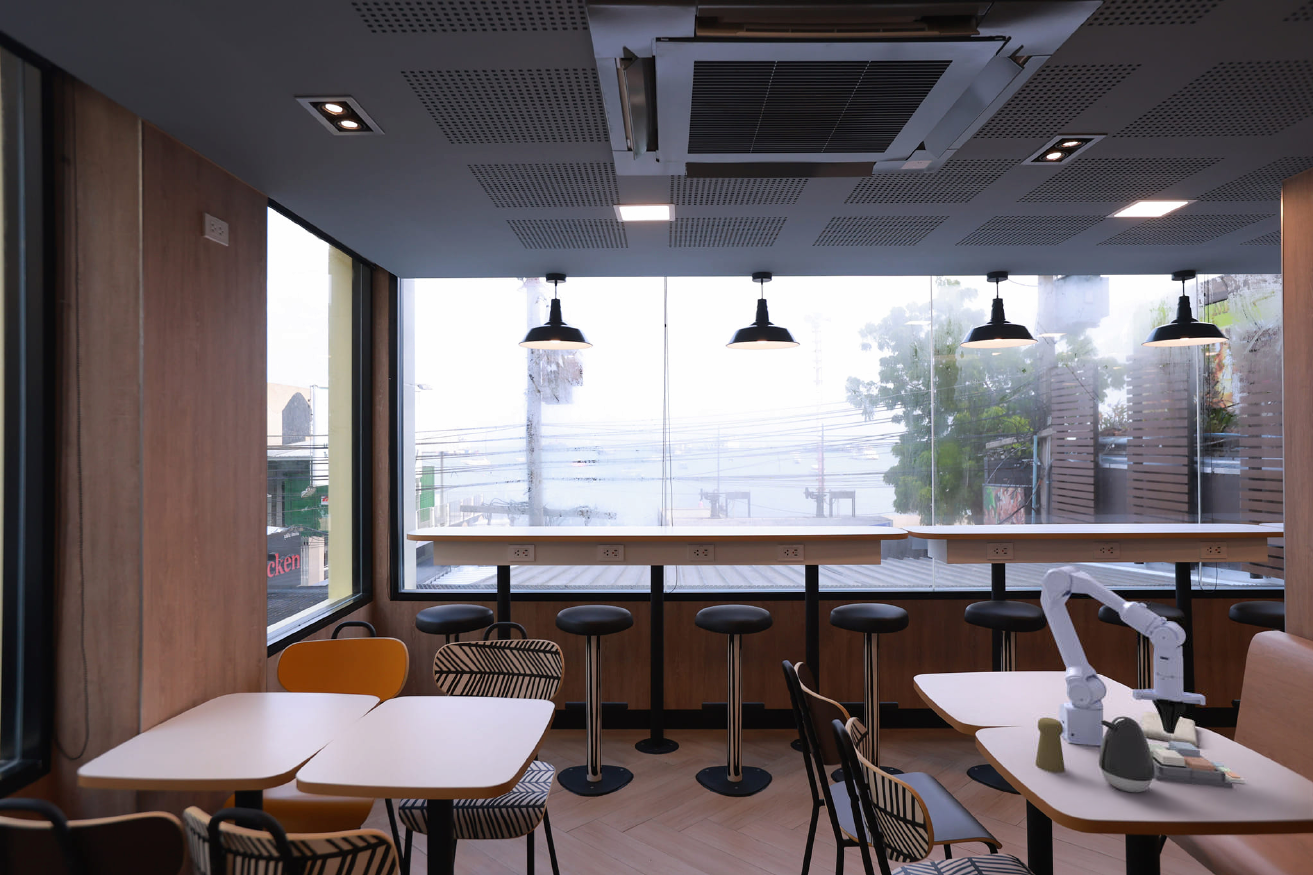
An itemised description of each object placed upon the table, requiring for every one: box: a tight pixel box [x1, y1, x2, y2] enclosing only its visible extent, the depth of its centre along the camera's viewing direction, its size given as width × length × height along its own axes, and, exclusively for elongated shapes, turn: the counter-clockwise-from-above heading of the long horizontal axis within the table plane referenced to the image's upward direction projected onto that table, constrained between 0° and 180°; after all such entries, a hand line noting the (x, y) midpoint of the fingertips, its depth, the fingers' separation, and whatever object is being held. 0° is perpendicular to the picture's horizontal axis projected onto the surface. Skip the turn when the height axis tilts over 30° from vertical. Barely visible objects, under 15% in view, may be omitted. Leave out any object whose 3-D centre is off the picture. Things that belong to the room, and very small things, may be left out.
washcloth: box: [1141, 711, 1198, 748], centre depth 187 cm, size 12×18×3 cm, turn 146°
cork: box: [1035, 717, 1066, 774], centre depth 164 cm, size 6×6×11 cm
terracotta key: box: [1182, 756, 1215, 771], centre depth 160 cm, size 4×4×2 cm
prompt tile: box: [1210, 761, 1244, 784], centre depth 162 cm, size 2×9×1 cm, turn 168°
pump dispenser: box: [1098, 715, 1155, 793], centre depth 154 cm, size 10×10×15 cm
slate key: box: [1168, 741, 1201, 758], centre depth 166 cm, size 4×4×2 cm
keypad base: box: [1152, 746, 1234, 789], centre depth 164 cm, size 15×15×3 cm
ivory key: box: [1153, 749, 1185, 766], centre depth 162 cm, size 4×4×2 cm
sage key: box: [1148, 743, 1167, 755], centre depth 167 cm, size 4×4×2 cm
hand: (1168, 731), depth 167 cm, fingers closed
